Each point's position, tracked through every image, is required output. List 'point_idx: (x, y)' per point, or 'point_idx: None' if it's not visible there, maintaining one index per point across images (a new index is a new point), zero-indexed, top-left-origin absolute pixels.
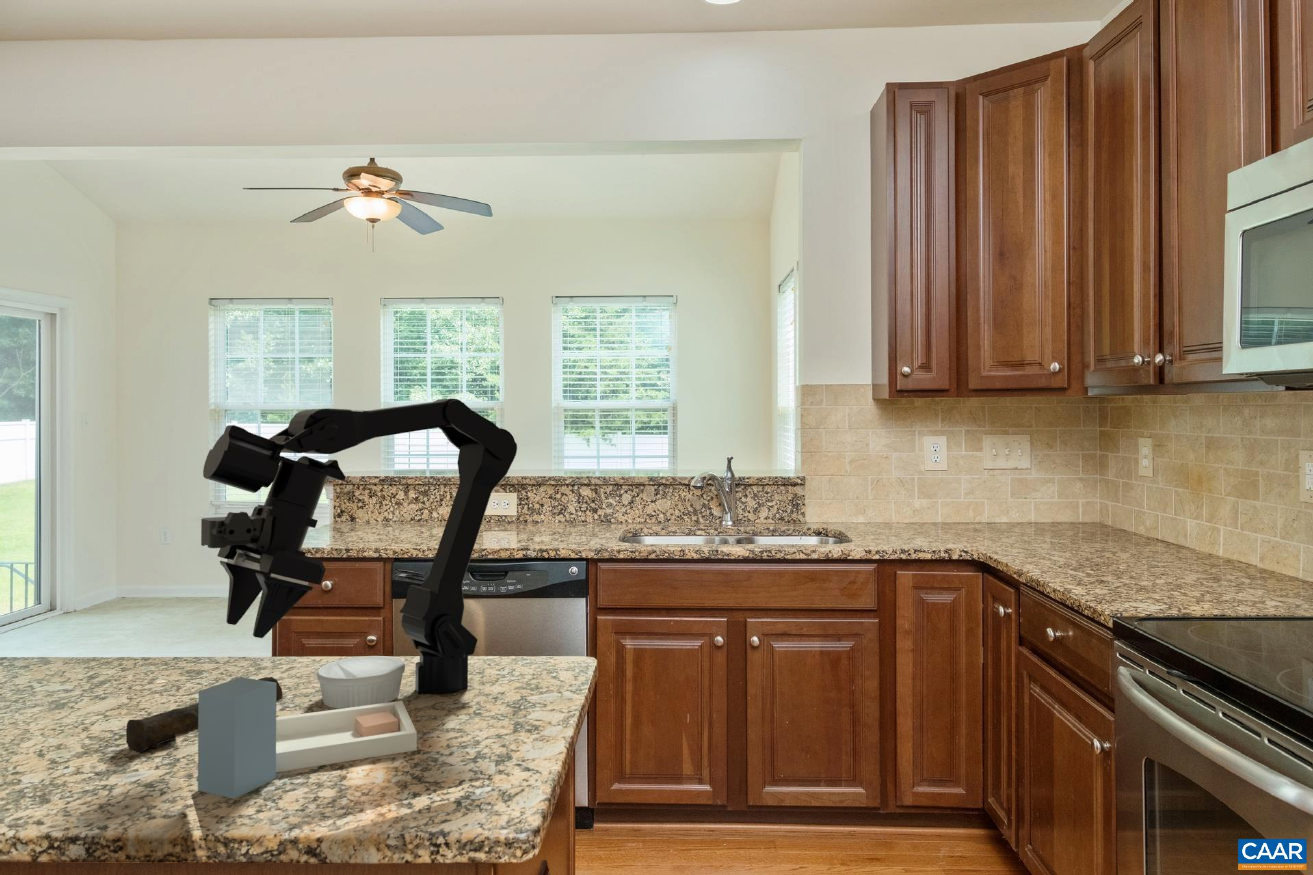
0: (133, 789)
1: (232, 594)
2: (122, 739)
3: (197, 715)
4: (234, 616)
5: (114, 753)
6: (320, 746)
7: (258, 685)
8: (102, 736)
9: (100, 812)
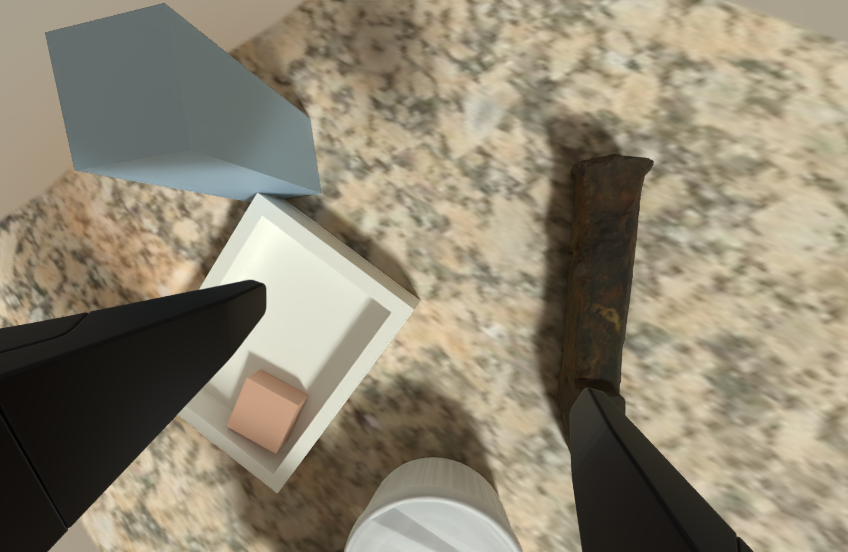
0: (429, 84)
1: (670, 525)
2: (681, 191)
3: (575, 276)
4: (584, 428)
5: (619, 145)
6: (212, 269)
7: (87, 128)
8: (739, 179)
9: (390, 14)
